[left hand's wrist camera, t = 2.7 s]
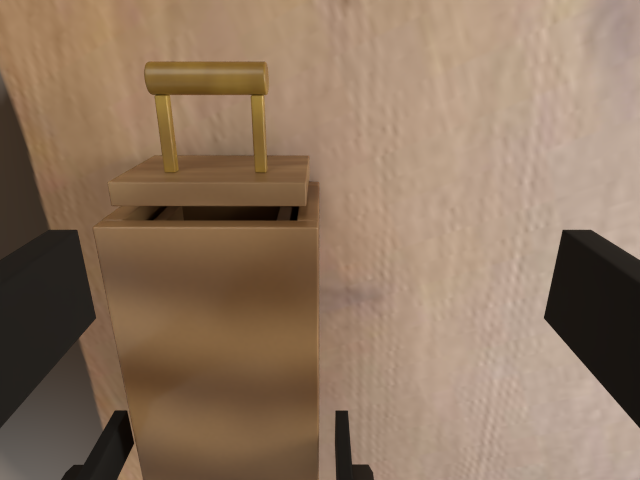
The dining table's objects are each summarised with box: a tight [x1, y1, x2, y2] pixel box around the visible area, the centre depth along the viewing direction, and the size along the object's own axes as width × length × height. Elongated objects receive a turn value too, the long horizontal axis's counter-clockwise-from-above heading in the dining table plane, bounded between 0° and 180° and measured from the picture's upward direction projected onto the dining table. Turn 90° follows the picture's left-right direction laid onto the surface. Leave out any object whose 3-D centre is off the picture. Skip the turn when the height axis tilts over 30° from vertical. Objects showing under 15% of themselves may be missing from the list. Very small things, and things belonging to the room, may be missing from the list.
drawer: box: [108, 62, 309, 221], centre depth 27 cm, size 22×10×7 cm, turn 0°
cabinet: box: [93, 182, 319, 480], centre depth 29 cm, size 18×11×9 cm, turn 0°
